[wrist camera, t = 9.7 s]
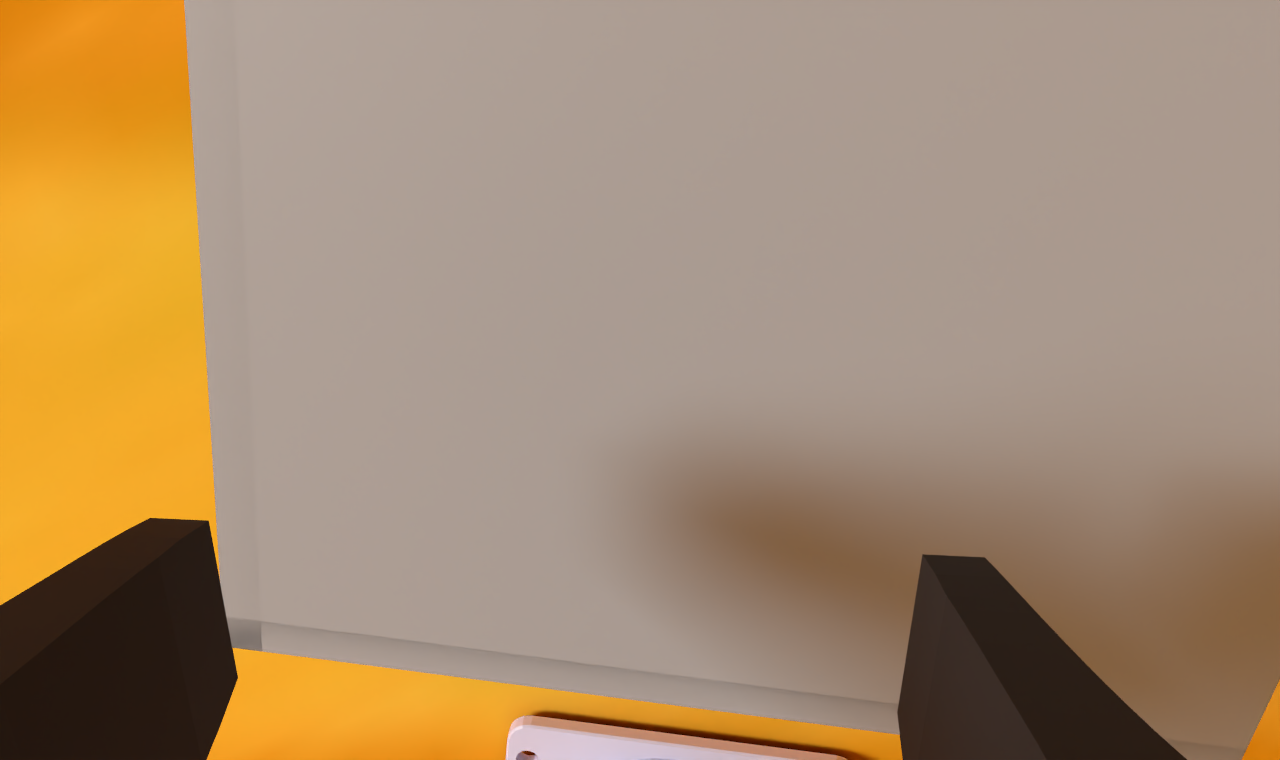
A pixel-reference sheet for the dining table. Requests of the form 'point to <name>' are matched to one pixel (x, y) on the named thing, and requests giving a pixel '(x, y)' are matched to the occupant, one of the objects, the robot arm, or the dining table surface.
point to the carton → (746, 339)
